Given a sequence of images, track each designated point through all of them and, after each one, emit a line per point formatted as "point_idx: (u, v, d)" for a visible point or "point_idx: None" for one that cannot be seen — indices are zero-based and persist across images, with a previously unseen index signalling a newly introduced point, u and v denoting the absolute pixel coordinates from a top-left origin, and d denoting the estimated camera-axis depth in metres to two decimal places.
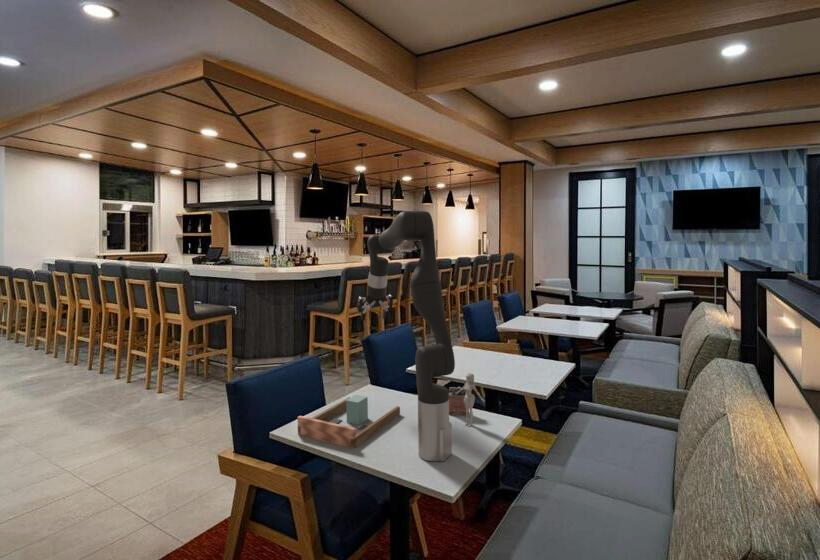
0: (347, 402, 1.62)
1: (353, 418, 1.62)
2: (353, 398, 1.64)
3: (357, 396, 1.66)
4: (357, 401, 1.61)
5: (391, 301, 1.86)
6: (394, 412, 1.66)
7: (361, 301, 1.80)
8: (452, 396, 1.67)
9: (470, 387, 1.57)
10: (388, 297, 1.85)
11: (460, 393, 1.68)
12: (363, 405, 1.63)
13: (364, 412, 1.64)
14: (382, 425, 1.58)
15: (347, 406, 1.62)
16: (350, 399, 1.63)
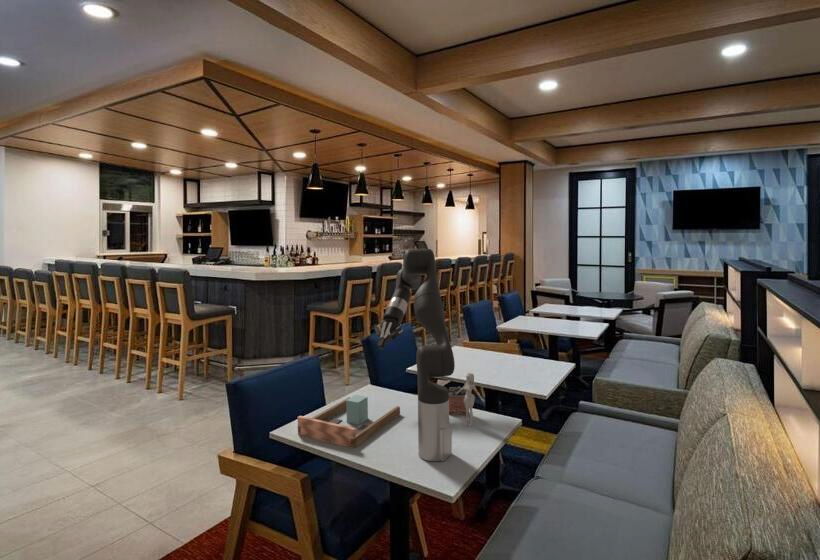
0: (347, 402, 1.62)
1: (353, 418, 1.62)
2: (353, 398, 1.64)
3: (357, 396, 1.66)
4: (357, 401, 1.61)
5: (396, 331, 1.78)
6: (394, 412, 1.66)
7: (375, 326, 1.83)
8: (452, 396, 1.67)
9: (470, 387, 1.57)
10: None
11: (460, 393, 1.68)
12: (363, 405, 1.63)
13: (364, 412, 1.64)
14: (382, 425, 1.58)
15: (347, 406, 1.62)
16: (350, 399, 1.63)
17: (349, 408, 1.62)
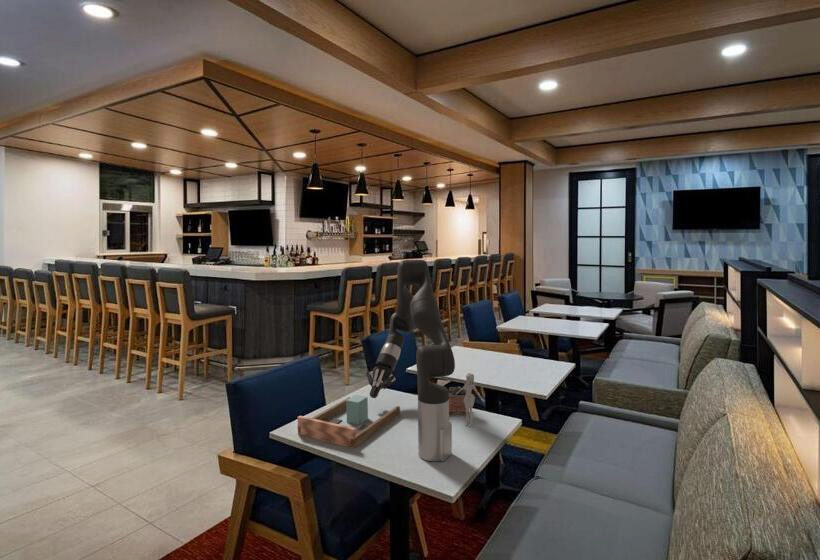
0: (347, 402, 1.62)
1: (353, 418, 1.62)
2: (353, 398, 1.64)
3: (357, 396, 1.66)
4: (357, 401, 1.61)
5: (389, 379, 1.74)
6: (394, 412, 1.66)
7: (367, 373, 1.79)
8: (452, 396, 1.67)
9: (470, 387, 1.57)
10: (391, 376, 1.76)
11: (460, 393, 1.68)
12: (363, 405, 1.63)
13: (364, 412, 1.64)
14: (382, 425, 1.58)
15: (347, 406, 1.62)
16: (350, 399, 1.63)
17: (349, 408, 1.62)
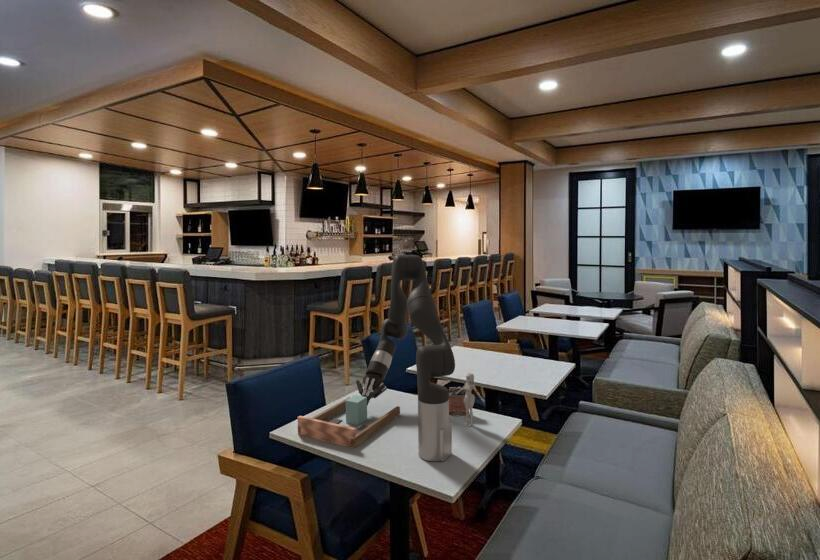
0: (346, 402, 1.62)
1: (352, 419, 1.62)
2: (352, 398, 1.64)
3: (356, 396, 1.66)
4: (356, 401, 1.61)
5: (379, 388, 1.68)
6: (394, 412, 1.66)
7: (357, 382, 1.73)
8: (452, 396, 1.67)
9: (470, 387, 1.57)
10: None
11: (460, 393, 1.68)
12: (362, 405, 1.63)
13: (363, 413, 1.64)
14: (382, 425, 1.58)
15: (347, 407, 1.62)
16: (349, 399, 1.63)
17: (348, 408, 1.62)
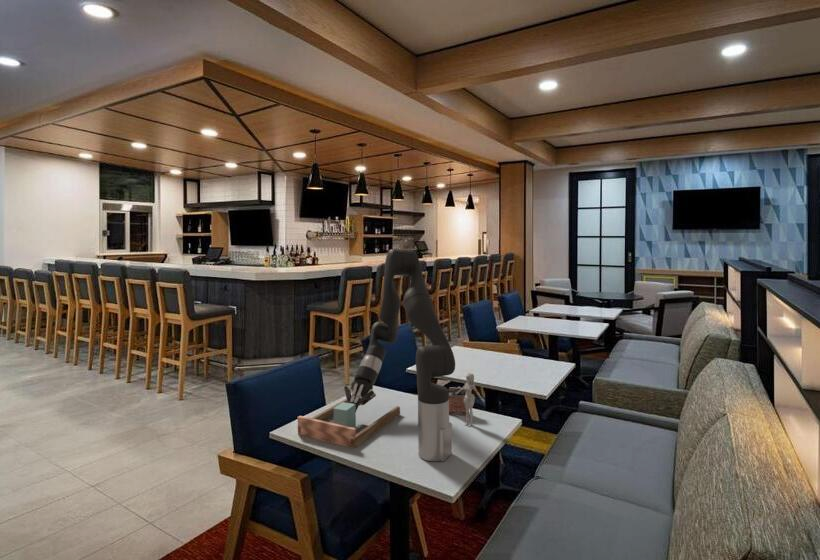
0: (335, 410, 1.55)
1: None
2: (340, 406, 1.57)
3: (344, 403, 1.59)
4: (345, 409, 1.54)
5: (368, 395, 1.62)
6: (394, 412, 1.66)
7: (346, 388, 1.67)
8: (452, 396, 1.67)
9: (470, 387, 1.57)
10: (371, 391, 1.63)
11: (460, 393, 1.68)
12: (351, 412, 1.56)
13: (352, 420, 1.57)
14: (382, 425, 1.58)
15: (335, 415, 1.55)
16: (338, 407, 1.56)
17: (337, 416, 1.55)
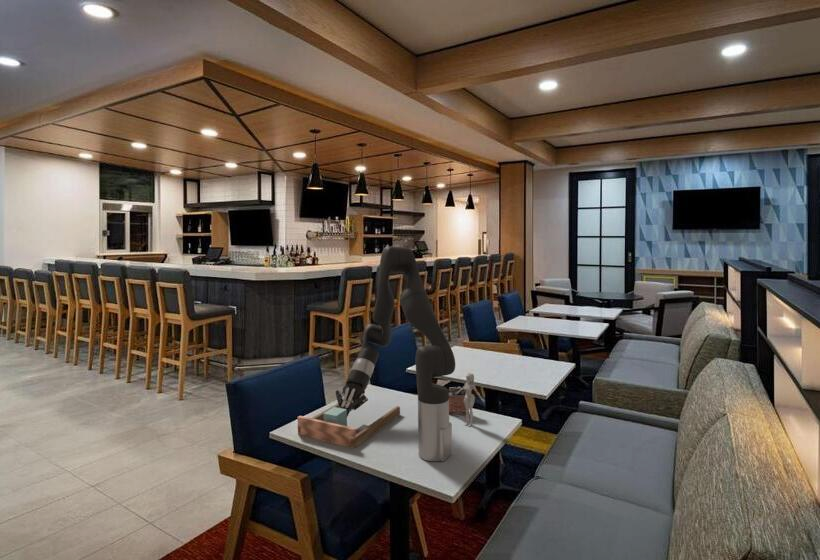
0: (324, 415, 1.51)
1: None
2: (331, 411, 1.53)
3: (335, 408, 1.55)
4: (335, 414, 1.50)
5: (359, 399, 1.57)
6: (394, 412, 1.66)
7: (337, 392, 1.62)
8: (452, 396, 1.67)
9: (470, 387, 1.57)
10: (363, 395, 1.59)
11: (460, 393, 1.68)
12: (342, 418, 1.52)
13: None
14: (382, 425, 1.58)
15: (325, 420, 1.51)
16: (328, 412, 1.52)
17: None
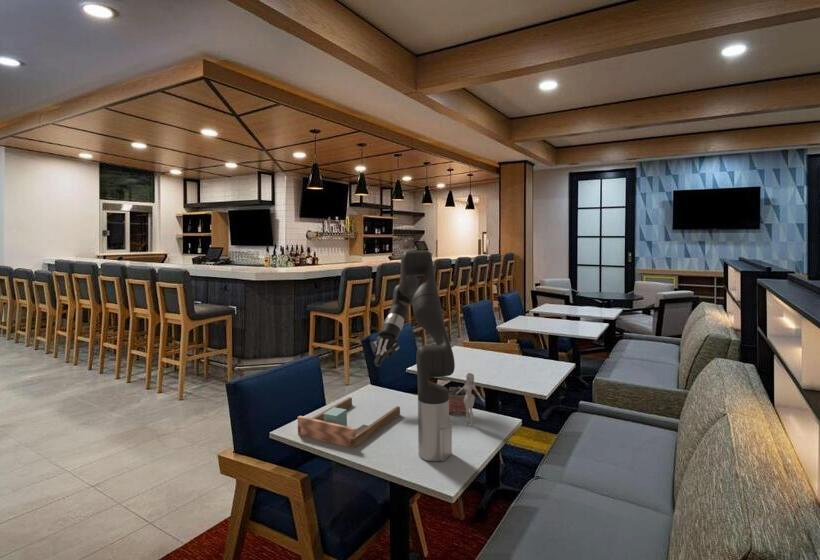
0: (324, 416, 1.51)
1: None
2: (331, 411, 1.53)
3: (335, 409, 1.55)
4: (335, 414, 1.50)
5: (393, 348, 1.77)
6: (394, 412, 1.66)
7: (371, 343, 1.82)
8: (452, 396, 1.67)
9: (470, 387, 1.57)
10: None
11: (460, 393, 1.68)
12: (342, 418, 1.52)
13: None
14: (382, 425, 1.58)
15: (325, 420, 1.51)
16: (328, 412, 1.52)
17: None
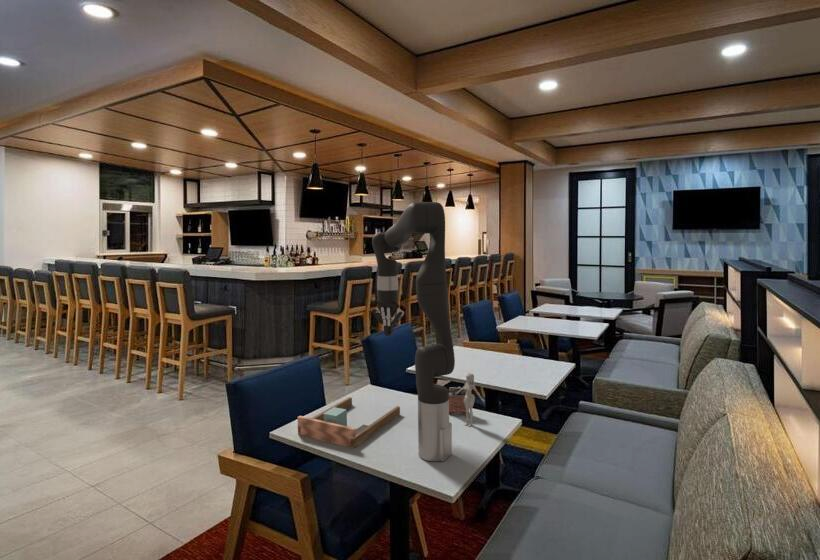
0: (324, 416, 1.51)
1: None
2: (331, 411, 1.53)
3: (335, 409, 1.55)
4: (335, 414, 1.50)
5: (397, 316, 1.64)
6: (394, 412, 1.66)
7: (374, 312, 1.69)
8: (452, 396, 1.67)
9: (470, 387, 1.57)
10: (399, 311, 1.65)
11: (460, 393, 1.68)
12: (342, 418, 1.52)
13: None
14: (382, 425, 1.58)
15: (325, 420, 1.51)
16: (328, 412, 1.52)
17: None
